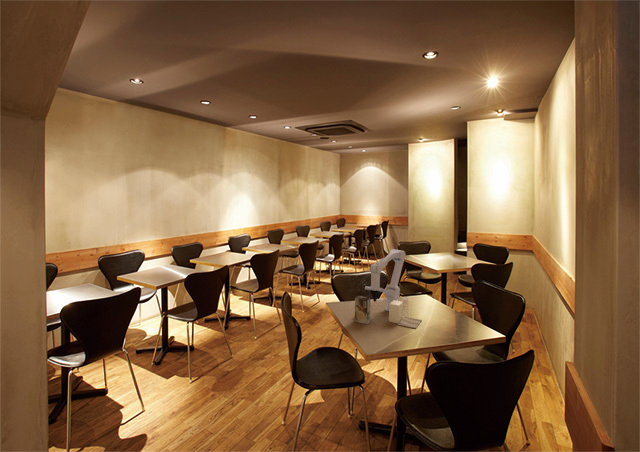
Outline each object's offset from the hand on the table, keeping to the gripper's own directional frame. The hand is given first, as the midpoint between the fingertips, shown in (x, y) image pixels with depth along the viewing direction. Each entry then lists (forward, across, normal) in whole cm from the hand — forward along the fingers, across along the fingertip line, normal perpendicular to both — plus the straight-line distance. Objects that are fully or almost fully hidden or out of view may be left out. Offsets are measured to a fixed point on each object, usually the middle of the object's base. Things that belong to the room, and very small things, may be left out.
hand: (374, 301), depth 229 cm
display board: (+10, +24, 0) cm, 27 cm away
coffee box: (+11, -3, -14) cm, 18 cm away
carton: (+10, +15, 0) cm, 18 cm away
